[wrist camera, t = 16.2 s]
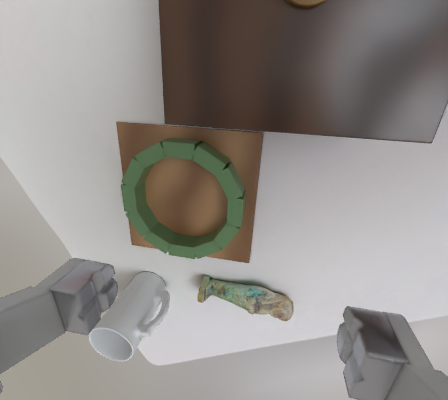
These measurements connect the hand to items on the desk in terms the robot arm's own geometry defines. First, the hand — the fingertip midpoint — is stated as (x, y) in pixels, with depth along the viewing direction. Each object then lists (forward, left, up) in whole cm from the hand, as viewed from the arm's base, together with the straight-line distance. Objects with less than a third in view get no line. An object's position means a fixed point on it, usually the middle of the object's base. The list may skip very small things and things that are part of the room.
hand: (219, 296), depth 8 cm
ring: (+10, +8, -25) cm, 28 cm away
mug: (+16, +26, -26) cm, 40 cm away
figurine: (0, +24, -26) cm, 35 cm away
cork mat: (+10, +8, -25) cm, 28 cm away
